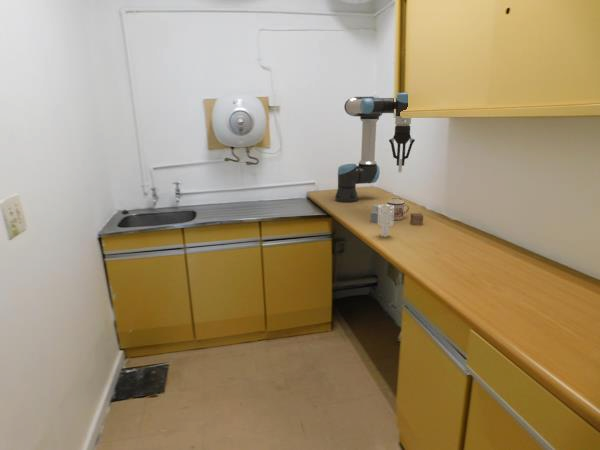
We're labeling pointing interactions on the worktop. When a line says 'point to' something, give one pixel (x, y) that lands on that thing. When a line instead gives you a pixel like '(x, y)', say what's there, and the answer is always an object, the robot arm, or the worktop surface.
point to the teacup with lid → (398, 208)
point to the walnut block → (416, 219)
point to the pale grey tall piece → (385, 218)
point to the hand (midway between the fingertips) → (400, 171)
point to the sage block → (376, 207)
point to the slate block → (374, 217)
